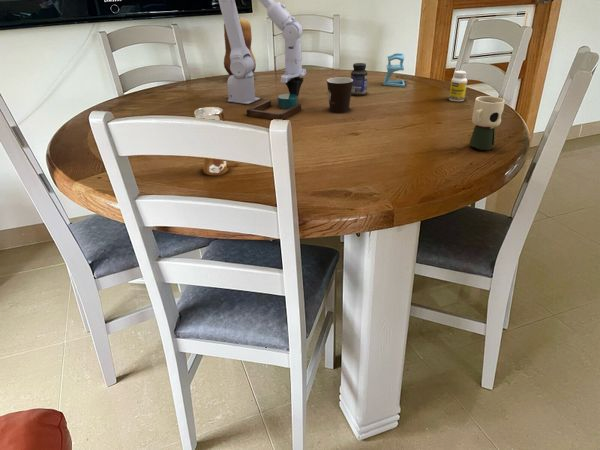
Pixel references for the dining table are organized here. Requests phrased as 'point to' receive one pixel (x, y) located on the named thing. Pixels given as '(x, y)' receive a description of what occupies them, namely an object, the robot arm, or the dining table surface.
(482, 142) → the character mug
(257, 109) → the walnut bay
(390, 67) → the chair
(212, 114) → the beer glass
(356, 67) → the pill bottle
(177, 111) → the dining table surface
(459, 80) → the supplement bottle
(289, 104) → the teal puck
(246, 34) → the butternut squash
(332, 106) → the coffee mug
